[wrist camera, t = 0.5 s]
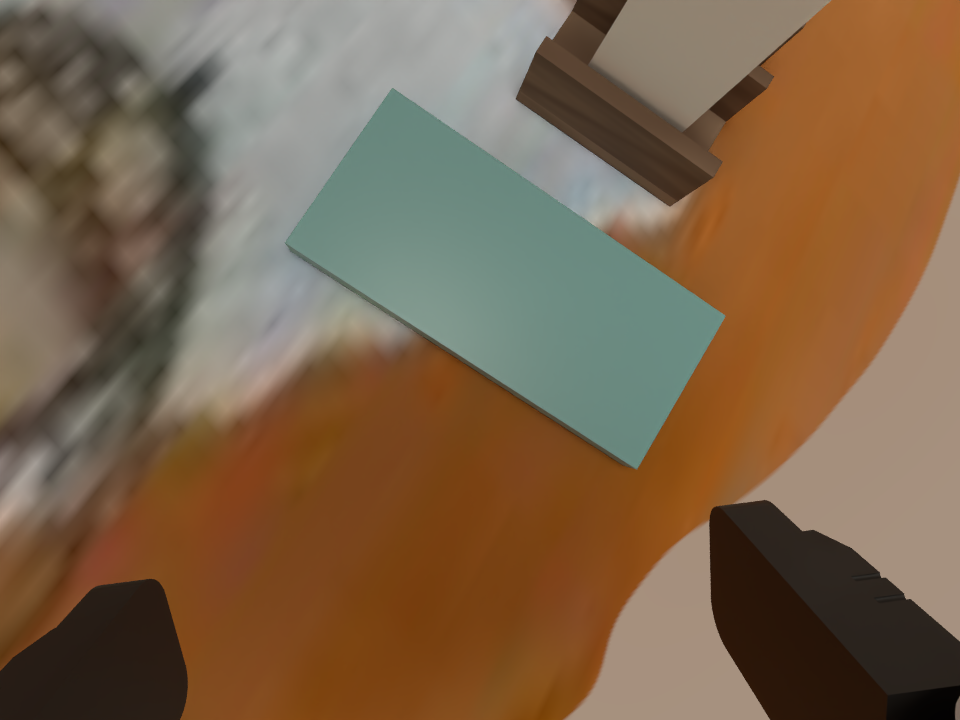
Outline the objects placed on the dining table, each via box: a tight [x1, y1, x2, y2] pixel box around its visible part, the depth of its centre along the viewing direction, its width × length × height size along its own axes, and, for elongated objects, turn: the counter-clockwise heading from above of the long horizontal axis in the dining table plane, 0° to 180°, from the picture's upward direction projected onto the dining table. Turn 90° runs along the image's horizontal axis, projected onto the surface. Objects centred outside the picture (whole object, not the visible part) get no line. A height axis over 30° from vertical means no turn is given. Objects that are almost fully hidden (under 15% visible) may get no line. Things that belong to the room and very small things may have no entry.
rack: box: [516, 0, 806, 206], centre depth 35 cm, size 19×11×5 cm, turn 148°
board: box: [285, 88, 725, 469], centre depth 34 cm, size 10×22×2 cm, turn 58°
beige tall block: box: [588, 0, 831, 132], centre depth 28 cm, size 4×6×16 cm, turn 58°
